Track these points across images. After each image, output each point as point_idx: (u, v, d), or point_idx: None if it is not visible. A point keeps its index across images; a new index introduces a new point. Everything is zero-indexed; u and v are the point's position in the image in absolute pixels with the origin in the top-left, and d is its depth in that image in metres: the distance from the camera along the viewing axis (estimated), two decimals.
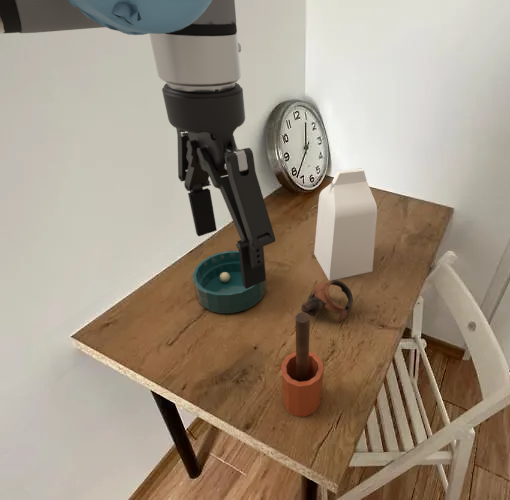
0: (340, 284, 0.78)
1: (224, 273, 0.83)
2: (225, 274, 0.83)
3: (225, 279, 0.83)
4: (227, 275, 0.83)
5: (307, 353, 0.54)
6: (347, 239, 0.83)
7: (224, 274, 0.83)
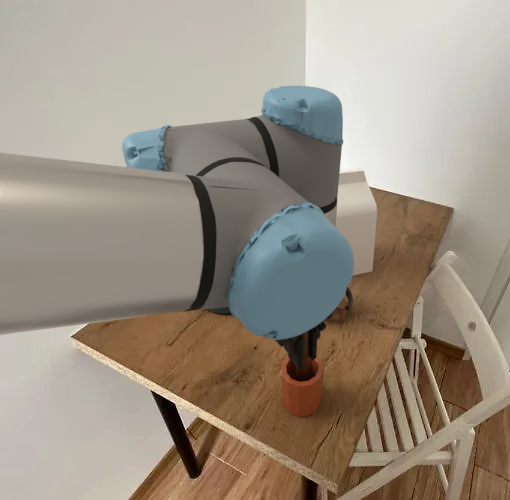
0: None
1: None
2: None
3: None
4: None
5: (307, 353, 0.54)
6: (347, 239, 0.83)
7: None
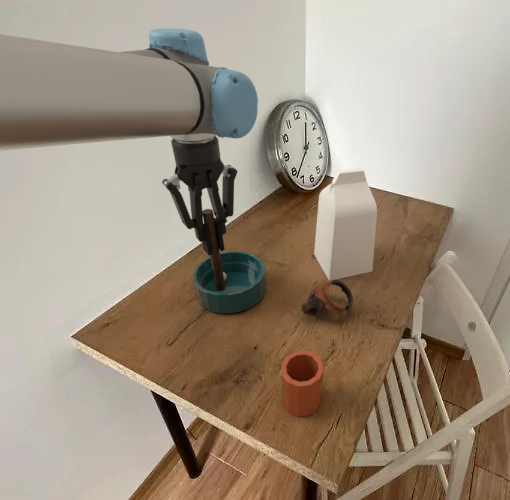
0: (340, 284, 0.78)
1: None
2: None
3: None
4: None
5: (216, 244, 0.72)
6: (347, 239, 0.83)
7: None
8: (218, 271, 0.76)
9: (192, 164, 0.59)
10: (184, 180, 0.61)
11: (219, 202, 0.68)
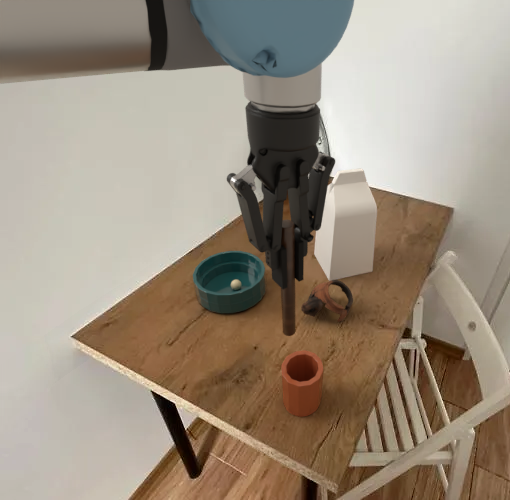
0: (340, 284, 0.78)
1: None
2: None
3: None
4: None
5: (293, 271, 0.48)
6: (347, 239, 0.83)
7: None
8: (290, 310, 0.52)
9: (282, 148, 0.35)
10: (263, 175, 0.37)
11: (306, 210, 0.43)
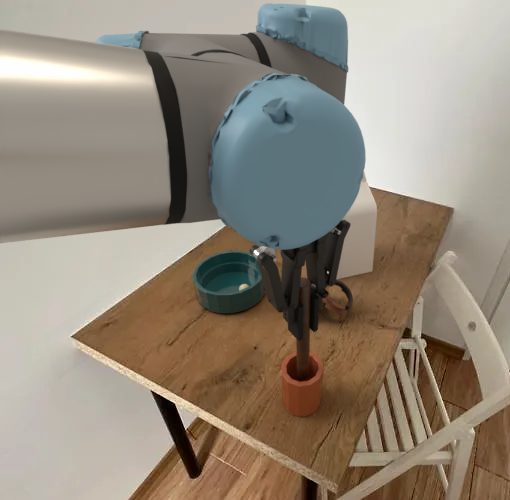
0: (340, 284, 0.78)
1: None
2: (241, 285, 0.80)
3: None
4: (243, 285, 0.80)
5: (308, 324, 0.50)
6: (347, 239, 0.83)
7: (240, 286, 0.80)
8: (305, 357, 0.54)
9: None
10: None
11: (322, 270, 0.46)
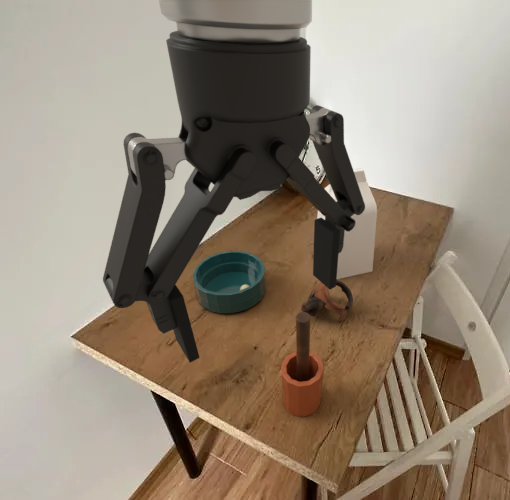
0: (340, 284, 0.78)
1: (242, 286, 0.80)
2: (243, 286, 0.80)
3: None
4: (245, 287, 0.80)
5: (308, 353, 0.54)
6: (347, 239, 0.83)
7: (242, 287, 0.80)
8: None
9: (236, 114, 0.18)
10: (207, 168, 0.20)
11: (325, 196, 0.28)
